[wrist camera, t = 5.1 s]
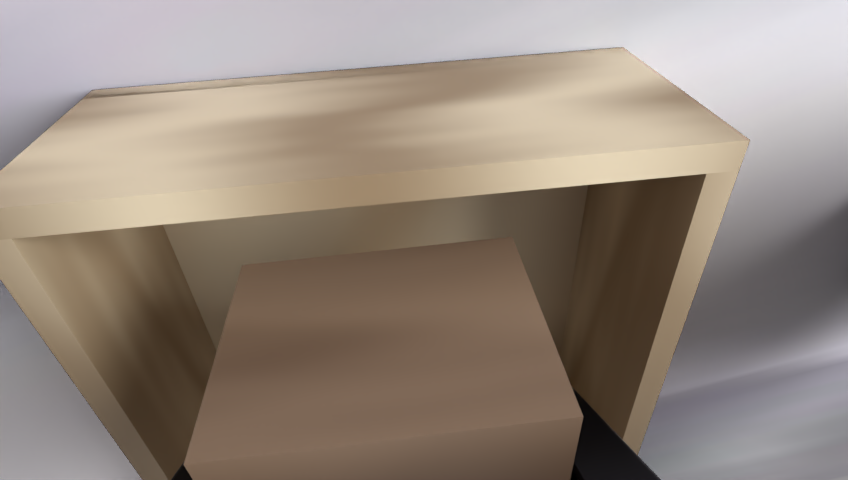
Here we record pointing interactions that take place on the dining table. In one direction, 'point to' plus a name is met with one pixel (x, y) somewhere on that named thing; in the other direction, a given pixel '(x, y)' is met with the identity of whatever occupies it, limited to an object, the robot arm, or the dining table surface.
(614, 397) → the wooden box
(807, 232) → the dining table surface
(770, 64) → the dining table surface
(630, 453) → the robot arm
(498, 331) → the block
